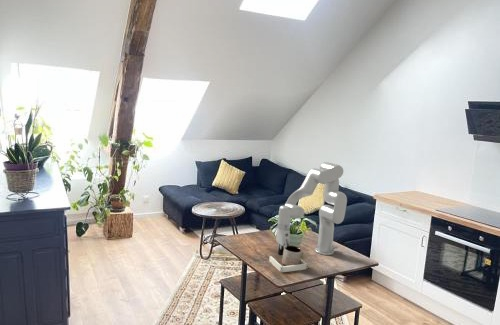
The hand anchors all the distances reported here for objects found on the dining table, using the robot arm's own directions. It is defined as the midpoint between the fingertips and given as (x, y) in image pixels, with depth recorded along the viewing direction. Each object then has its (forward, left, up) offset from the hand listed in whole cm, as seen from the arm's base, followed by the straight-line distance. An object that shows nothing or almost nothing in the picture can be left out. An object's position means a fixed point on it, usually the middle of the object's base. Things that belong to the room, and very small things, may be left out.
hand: (280, 254), depth 226 cm
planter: (-3, +7, -3) cm, 8 cm away
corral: (-1, +7, -4) cm, 8 cm away
